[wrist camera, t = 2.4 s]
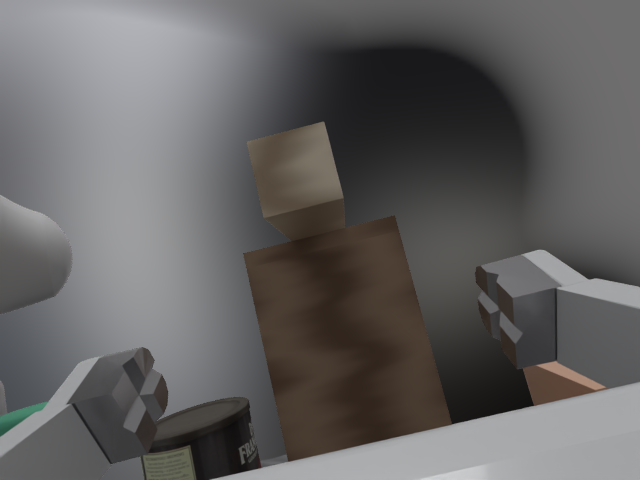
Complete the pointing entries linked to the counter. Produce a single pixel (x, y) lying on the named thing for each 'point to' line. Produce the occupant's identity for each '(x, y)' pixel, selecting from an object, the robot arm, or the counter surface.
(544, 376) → the pedestal
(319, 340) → the wooden open box
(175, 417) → the coffee can
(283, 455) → the counter surface
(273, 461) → the counter surface
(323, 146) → the bar
